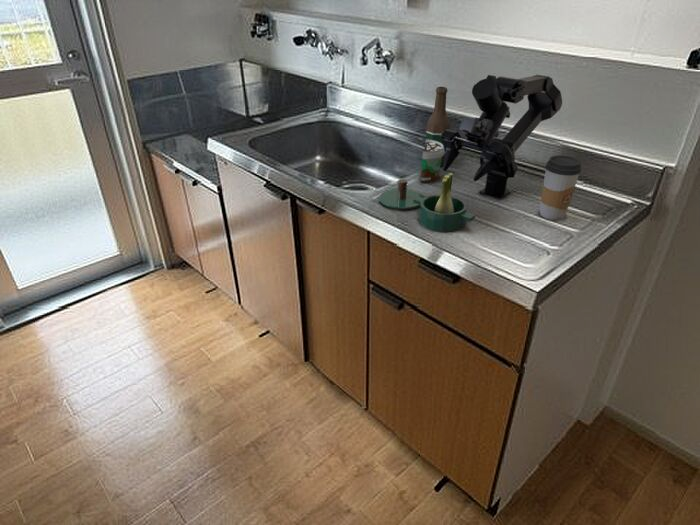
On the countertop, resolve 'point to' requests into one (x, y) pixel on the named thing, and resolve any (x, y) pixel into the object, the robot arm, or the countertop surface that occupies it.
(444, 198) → the fennel bulb
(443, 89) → the beer bottle
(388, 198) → the lid
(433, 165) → the green food package
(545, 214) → the coffee cup
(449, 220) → the pot
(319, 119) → the countertop surface
